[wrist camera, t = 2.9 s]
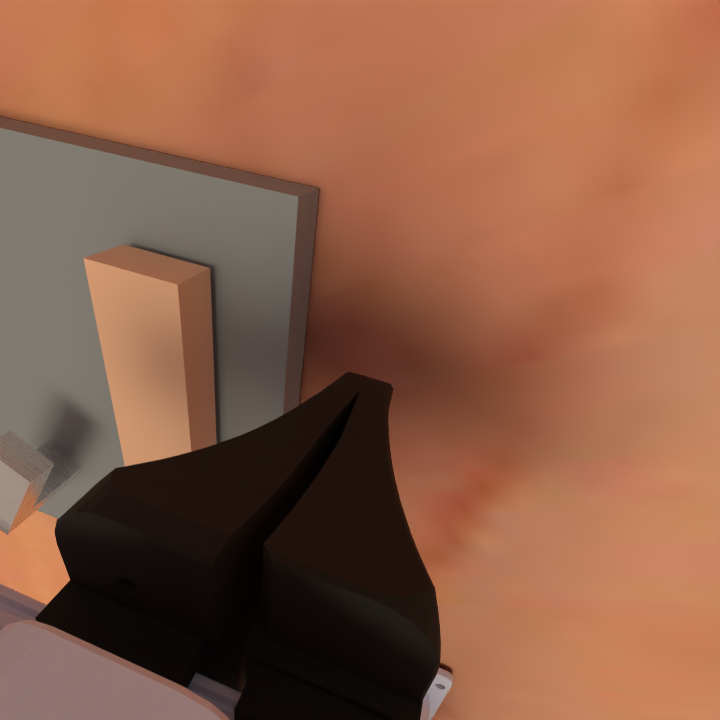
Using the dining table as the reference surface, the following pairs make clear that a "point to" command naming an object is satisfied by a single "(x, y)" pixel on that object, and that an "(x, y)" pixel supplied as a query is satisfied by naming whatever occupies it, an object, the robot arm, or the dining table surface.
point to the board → (155, 234)
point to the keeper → (29, 478)
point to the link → (155, 350)
